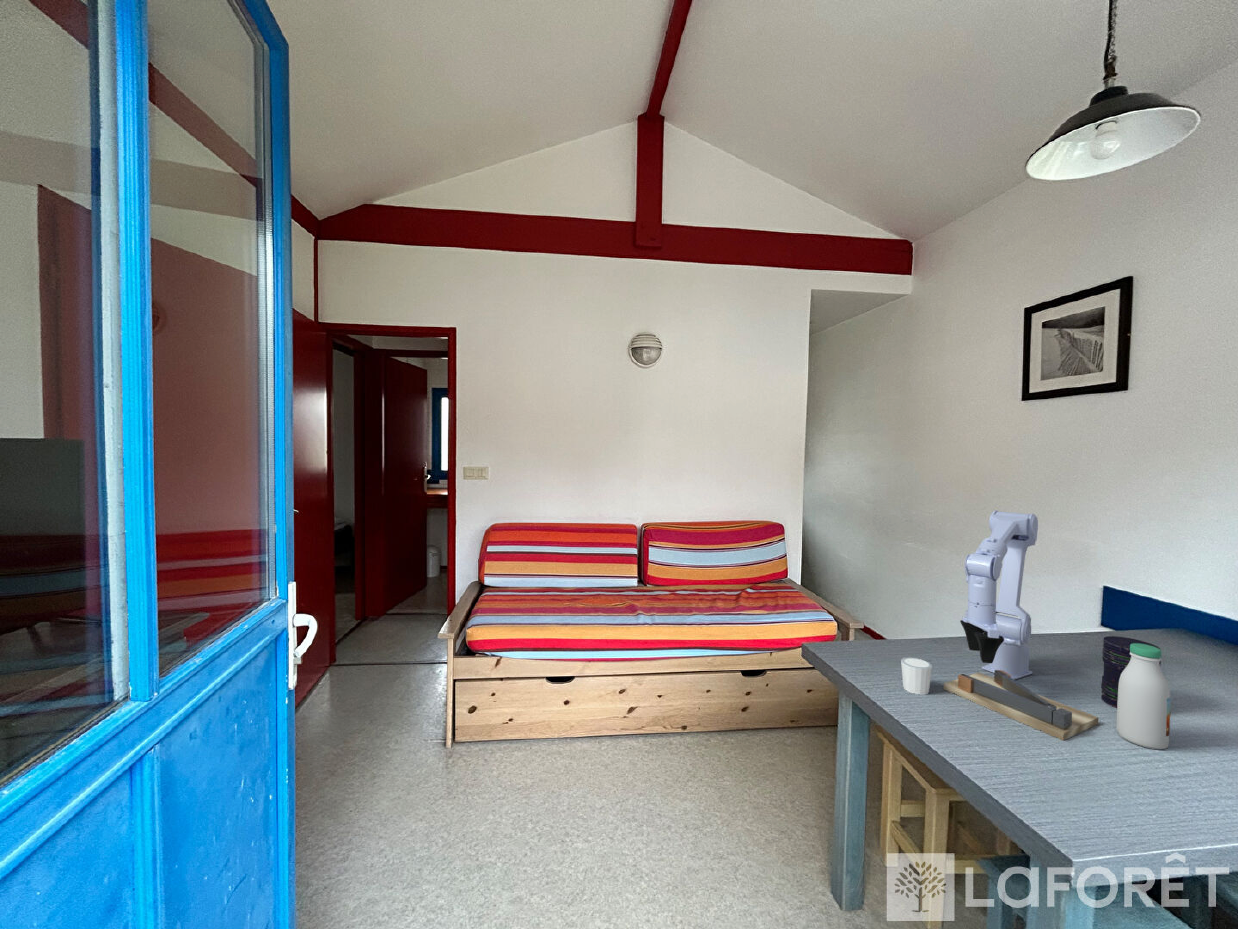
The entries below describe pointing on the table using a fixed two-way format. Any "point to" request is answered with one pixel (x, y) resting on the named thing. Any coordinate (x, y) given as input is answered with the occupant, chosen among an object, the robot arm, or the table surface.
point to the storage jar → (1115, 665)
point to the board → (1078, 717)
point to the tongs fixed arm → (1016, 702)
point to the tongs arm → (1018, 688)
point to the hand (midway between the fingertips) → (980, 656)
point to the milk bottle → (1144, 699)
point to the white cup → (916, 675)
